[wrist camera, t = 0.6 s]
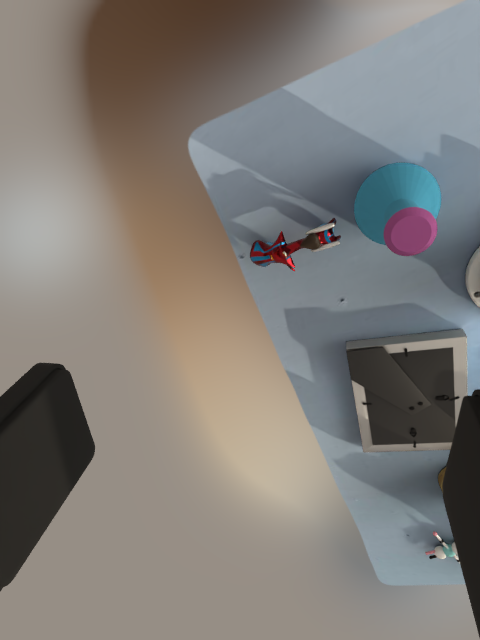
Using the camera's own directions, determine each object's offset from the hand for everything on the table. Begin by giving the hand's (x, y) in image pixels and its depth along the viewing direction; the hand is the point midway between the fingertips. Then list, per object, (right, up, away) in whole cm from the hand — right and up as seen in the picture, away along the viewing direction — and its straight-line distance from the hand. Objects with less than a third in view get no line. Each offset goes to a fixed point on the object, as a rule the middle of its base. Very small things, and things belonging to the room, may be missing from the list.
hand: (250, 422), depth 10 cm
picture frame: (+26, -9, +53) cm, 60 cm away
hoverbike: (+7, +13, +45) cm, 48 cm away
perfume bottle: (+18, +18, +40) cm, 48 cm away
